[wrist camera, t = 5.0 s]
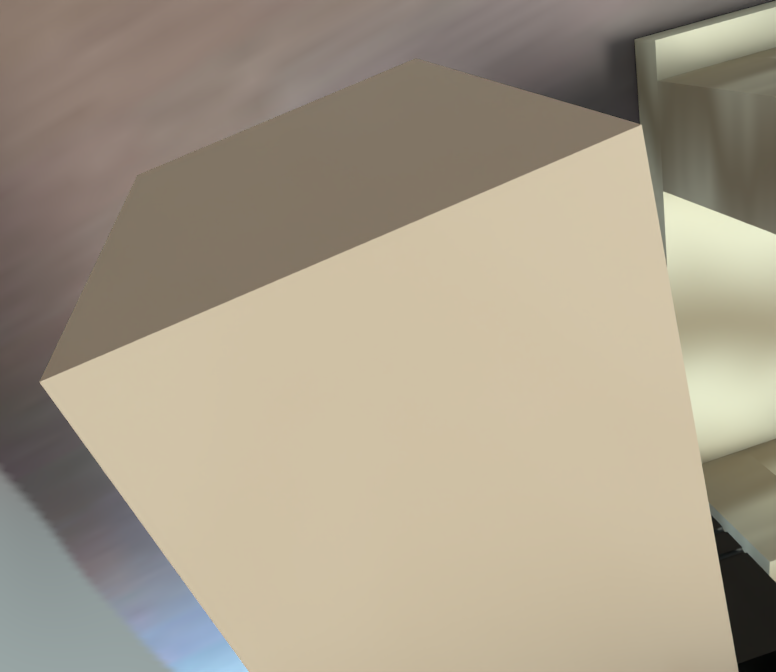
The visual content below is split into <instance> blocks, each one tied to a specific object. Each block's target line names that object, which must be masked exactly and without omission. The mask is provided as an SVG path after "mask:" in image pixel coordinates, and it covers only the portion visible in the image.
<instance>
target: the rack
mask: <svg viewBox="0 0 776 672" xmlns="http://www.w3.org/2000/svg"><path fill="white" fill-rule="evenodd" d="M635 55H636V70H637V85H638V101H639V116H640V124H641V125H642V129H643V135H644V140H645V146H646V152H647V157H648V163H649V169H650V174H651V180H652V186H653V191H654V197H655V202H656V208H657V214H658V219H659V225H660V231H661V236H662V242H663V248H664V253H665V259H666V265H667V270H668V276H669V282H670V287H671V293H672V298H673V304H674V310H675V315H676V321H677V327H678V332H679V338H680V344H681V349H682V355H683V361H684V366H685V372H686V378H687V383H688V389H689V395H690V400H691V406H692V411H693V417H694V423H695V428H696V434H697V440H698V445H699V451H700V457H701V462H702V468H703V474H704V479H705V485H706V491H707V496H708V502H709V507H710V513H711V515H712V516H713V517H714V518H715V519H716V520H717V521H718V522H719V523H720V524H721V526H722V527H723V530H724V531H725V532H728V533H729V534H730V535H731V536H732V537H733V538H734V539H735V540H736V541H737V542H738V543H739V544H740V545H741V546H742V549H743V551H744V552H745V553H748V554H749V555H750V556H751V557H752V558H753V559H754V560H755V561H756V562H757V563H758V564H759V565H760V566H761V567H762V568H763V569H764V570H765V572H766V573H767V574H768V575H769V576H770V577H771V578H772V579H773V580H774V581H775V582H776V1H772V2H769V3H765V4H761V5H758V6H754V7H750V8H747V9H743V10H740V11H736V12H732V13H729V14H725V15H721V16H718V17H714V18H710V19H707V20H703V21H700V22H696V23H692V24H689V25H685V26H681V27H678V28H674V29H670V30H667V31H663V32H660V33H656V34H652V35H649V36H645V37H641V38H638V39H635Z"/></svg>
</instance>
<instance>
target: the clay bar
mask: <svg viewBox="0 0 776 672" xmlns="http://www.w3.org/2000/svg"><path fill="white" fill-rule="evenodd" d="M40 384H41V385H42V386H43V388H44V389H45V390H46V392H47V393H48V395H49V396H50V397H51V399H52V400H53V402H54V403H55V404H56V406H57V407H58V408H59V410H60V411H61V413H62V414H63V415H64V417H65V418H66V419H67V421H68V422H69V424H70V425H71V426H72V428H73V429H74V431H75V432H76V433H77V435H78V436H79V437H80V439H81V440H82V442H83V443H84V444H85V446H86V447H87V449H88V450H89V451H90V453H91V454H92V455H93V457H94V458H95V460H96V461H97V462H98V464H99V465H100V466H101V468H102V469H103V471H104V472H105V473H106V475H107V476H108V478H109V479H110V480H111V482H112V483H113V484H114V486H115V487H116V489H117V490H118V491H119V493H120V494H121V495H122V497H123V498H124V500H125V501H126V502H127V504H128V505H129V507H130V508H131V509H132V511H133V512H134V513H135V515H136V516H137V518H138V519H139V520H140V522H141V523H142V525H143V526H144V527H145V529H146V530H147V531H148V533H149V534H150V536H151V537H152V538H153V540H154V541H155V542H156V544H157V545H158V547H159V548H160V549H161V551H162V552H163V554H164V555H165V556H166V558H167V559H168V560H169V562H170V563H171V565H172V566H173V567H174V569H175V570H176V572H177V573H178V574H179V576H180V577H181V578H182V580H183V581H184V583H185V584H186V585H187V587H188V588H189V589H190V591H191V592H192V594H193V595H194V596H195V598H196V599H197V601H198V602H199V603H200V605H201V606H202V607H203V609H204V610H205V612H206V613H207V614H208V616H209V617H210V619H211V620H212V621H213V623H214V624H215V625H216V627H217V628H218V630H219V631H220V632H221V634H222V635H223V636H224V638H225V639H226V641H227V642H228V643H229V645H230V646H231V648H232V649H233V650H234V652H235V653H236V654H237V656H238V657H239V659H240V660H241V661H242V663H243V664H244V666H245V667H246V668H247V670H248V671H249V672H739V671H738V666H737V660H736V654H735V649H734V643H733V637H732V632H731V626H730V620H729V615H728V609H727V604H726V598H725V592H724V587H723V581H722V575H721V570H720V564H719V558H718V553H717V547H716V541H715V536H714V530H713V524H712V519H711V513H710V507H709V502H708V496H707V491H706V485H705V479H704V474H703V468H702V462H701V457H700V451H699V445H698V440H697V434H696V428H695V423H694V417H693V411H692V406H691V400H690V395H689V389H688V383H687V378H686V372H685V366H684V361H683V355H682V349H681V344H680V338H679V332H678V327H677V321H676V315H675V310H674V304H673V298H672V293H671V287H670V282H669V276H668V270H667V265H666V259H665V253H664V248H663V242H662V236H661V231H660V225H659V219H658V214H657V208H656V202H655V197H654V191H653V186H652V180H651V174H650V169H649V163H648V157H647V152H646V146H645V140H644V135H643V129H642V125H641V124H638V123H635V122H631V121H628V120H624V119H621V118H618V117H614V116H611V115H607V114H604V113H600V112H597V111H594V110H590V109H587V108H583V107H580V106H577V105H573V104H570V103H566V102H563V101H560V100H556V99H553V98H549V97H546V96H542V95H539V94H536V93H532V92H529V91H525V90H522V89H519V88H515V87H512V86H508V85H505V84H502V83H498V82H495V81H491V80H488V79H484V78H481V77H478V76H474V75H471V74H467V73H464V72H461V71H457V70H454V69H450V68H447V67H444V66H440V65H437V64H433V63H430V62H426V61H423V60H420V59H413V60H411V61H408V62H406V63H404V64H401V65H399V66H396V67H394V68H392V69H389V70H387V71H385V72H382V73H380V74H377V75H375V76H373V77H370V78H368V79H365V80H363V81H361V82H358V83H356V84H354V85H351V86H349V87H346V88H344V89H342V90H339V91H337V92H335V93H332V94H330V95H327V96H325V97H323V98H320V99H318V100H315V101H313V102H311V103H308V104H306V105H304V106H301V107H299V108H296V109H294V110H292V111H289V112H287V113H285V114H282V115H280V116H277V117H275V118H273V119H270V120H268V121H265V122H263V123H261V124H258V125H256V126H254V127H251V128H249V129H246V130H244V131H242V132H239V133H237V134H234V135H232V136H230V137H227V138H225V139H223V140H220V141H218V142H215V143H213V144H211V145H208V146H206V147H204V148H201V149H199V150H196V151H194V152H192V153H189V154H187V155H184V156H182V157H180V158H177V159H175V160H173V161H170V162H168V163H165V164H163V165H161V166H158V167H156V168H154V169H151V170H149V171H146V172H144V173H142V174H139V175H137V177H136V180H135V182H134V184H133V186H132V188H131V190H130V192H129V194H128V196H127V199H126V201H125V203H124V205H123V207H122V209H121V211H120V213H119V215H118V217H117V220H116V222H115V224H114V226H113V228H112V230H111V232H110V234H109V236H108V239H107V241H106V243H105V245H104V247H103V249H102V251H101V253H100V255H99V257H98V260H97V262H96V264H95V266H94V268H93V270H92V272H91V274H90V276H89V279H88V281H87V283H86V285H85V287H84V289H83V291H82V293H81V295H80V298H79V300H78V302H77V304H76V306H75V308H74V310H73V312H72V314H71V316H70V319H69V321H68V323H67V325H66V327H65V329H64V331H63V333H62V335H61V338H60V340H59V342H58V344H57V346H56V348H55V350H54V352H53V354H52V356H51V359H50V361H49V363H48V365H47V367H46V369H45V371H44V373H43V375H42V378H41V380H40Z"/></svg>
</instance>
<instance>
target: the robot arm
mask: <svg viewBox="0 0 776 672" xmlns="http://www.w3.org/2000/svg"><path fill="white" fill-rule="evenodd" d="M711 519H712V524H713V530H714V536H715V541H716V547H717V553H718V558H719V564H720V570H721V575H722V581H723V587H724V592H725V598H726V604H727V609H728V615H729V620H730V626H731V632H732V637H733V643H734V649H735V654H736V660H737V666H738V671H739V672H776V582H775V581H774V580H773V579H772V578H771V577H770V576H769V575H768V574H767V573H766V572H765V570H764V569H763V568H762V567H761V566H760V565H759V564H758V563H757V562H756V561H755V560H754V559H753V558H752V557H751V556H750V555H749V554H748V553H745V552H744V551H743V549H742V546H741V545H740V544H739V543H738V542H737V541H736V540H735V539H734V538H733V537H732V536H731V535H730V534H729V533H728V532H725V531H724V530H723V527H722V526H721V524H720V523H719V522H718V521H717V520H716V519H715V518H714V517H713V516H712V515H711Z"/></svg>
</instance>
